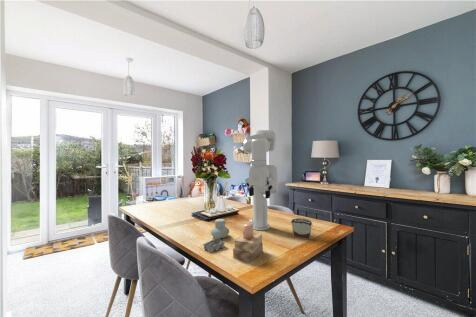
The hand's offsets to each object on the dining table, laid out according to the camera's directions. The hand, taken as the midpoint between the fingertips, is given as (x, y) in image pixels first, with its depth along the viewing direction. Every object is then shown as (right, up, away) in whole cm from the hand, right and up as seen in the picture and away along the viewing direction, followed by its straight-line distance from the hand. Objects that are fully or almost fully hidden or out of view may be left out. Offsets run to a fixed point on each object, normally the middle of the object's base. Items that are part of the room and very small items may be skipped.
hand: (259, 196), depth 115 cm
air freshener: (-22, -27, +19) cm, 40 cm away
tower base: (-6, -28, -5) cm, 29 cm away
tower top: (-6, -23, -5) cm, 24 cm away
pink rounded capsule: (-6, -19, -5) cm, 20 cm away
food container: (+27, -27, +18) cm, 42 cm away
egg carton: (-23, -28, +4) cm, 36 cm away
